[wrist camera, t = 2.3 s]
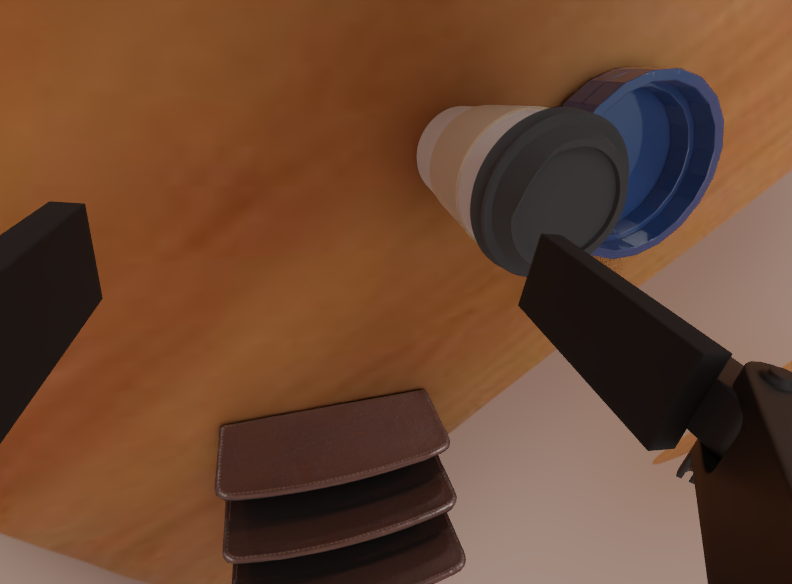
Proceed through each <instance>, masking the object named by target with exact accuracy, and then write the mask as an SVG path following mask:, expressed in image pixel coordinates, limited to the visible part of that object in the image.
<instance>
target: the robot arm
mask: <svg viewBox="0 0 792 584" xmlns="http://www.w3.org/2000/svg"><path fill="white" fill-rule="evenodd" d="M102 299H103V298H102V293H101V287H100V282H99V277H98V271H97V266H96V261H95V255H94V250H93V245H92V239H91V234H90V228H89V223H88V218H87V212H86V207H85V204H80V203H65V202H48V203H47V204H45V205H44V206H42V207H41V208H39V209H38V210H36V211H35V212H33V213H32V214H31V215H29V216H28V217H26V218H25V219H23V220H22V221H20V222H19V223H17V224H16V225H14V226H13V227H11V228H10V229H9V230H7V231H6V232H4V233H3V234H1V235H0V443H1V442H2V441H3V439H4V438H5V436H6V435H7V433H8V432H9V431H10V429H11V428H12V426H13V425H14V423H15V422H16V421H17V419H18V418H19V416H20V415H21V414H22V412H23V411H24V409H25V408H26V406H27V405H28V404H29V402H30V401H31V399H32V398H33V397H34V395H35V394H36V392H37V391H38V389H39V388H40V387H41V385H42V384H43V382H44V381H45V379H46V378H47V377H48V375H49V374H50V372H51V371H52V370H53V368H54V367H55V365H56V364H57V362H58V361H59V360H60V358H61V357H62V355H63V354H64V352H65V351H66V350H67V348H68V347H69V345H70V344H71V343H72V341H73V340H74V338H75V337H76V335H77V334H78V333H79V331H80V330H81V328H82V327H83V325H84V324H85V323H86V321H87V320H88V318H89V317H90V316H91V314H92V313H93V311H94V310H95V308H96V307H97V306H98V304H99V303H100V301H101V300H102ZM518 306H519V307H520V308H521V309H522V310H523V311H524V312H525V313H526V315H527V316H528V317H529V318H530V319H531V320H532V321H533V322H534V324H535V325H536V326H537V327H538V328H539V329H540V330H541V331H542V333H543V334H544V335H545V336H546V337H547V338H548V339H549V340H550V341H551V343H552V344H553V345H554V346H555V347H556V348H557V349H558V350H559V352H560V353H561V354H562V355H563V356H564V357H565V358H566V359H567V361H568V362H569V363H570V364H571V365H572V366H573V367H574V368H575V369H576V371H577V372H578V373H579V374H580V375H581V376H582V377H583V378H584V380H585V381H586V382H587V383H588V384H589V385H590V386H591V387H592V389H593V390H594V391H595V392H596V393H597V394H598V395H599V396H600V398H601V399H602V400H603V401H604V402H605V403H606V404H607V405H608V407H609V408H610V409H611V410H612V411H613V412H614V413H615V414H616V415H617V417H618V418H619V419H620V420H621V421H622V422H623V423H624V424H625V426H626V427H627V428H628V429H629V430H630V431H631V432H632V433H633V434H634V436H635V437H636V438H637V439H638V440H639V441H640V442H641V443H642V445H643V446H644V447H645V448H646V449H647V450H648V451H652V450H664V449H675V447H676V445H677V444H678V442H679V440H680V439H681V437H682V436H683V434H684V432H685V430H686V429H688V430H689V431H690V432H691V433H692V434H693V435H695V436H696V437H697V438H698V439H697V441H696V442H695V444H694V445H693V447H692V449H691V450H690V452H689V453H688V455H687V456H686V458H685V460H684V461H683V463H682V464H681V466H680V467H679V469H678V471H677V475H676V476H677V477H679V478H682V476H683V475H684V474H685V472H687V471H693V476H692V477H691V479H690V480H689V482H691V483H693V484H695V489H696V497H697V504H698V512H699V519H700V527H701V534H702V542H703V549H704V555H705V556H704V557H705V564H706V571H707V579H708V584H792V372H790V371H788V370H786V369H783V368H780V367H776V366H774V365H770V364H767V363H763V362H752V361H751V362H748V363H746V364H745V365H744V366H743V365H742V364H740V363H739V362H737V361H736V360H734V359H733V358H732V357H731V355H732V353H731V352H729V351H727V350H726V349H725V348H723V347H722V346H720V345H719V344H718V343H716V342H715V341H713V340H712V339H710V338H709V337H707V336H706V335H705V334H703V333H702V332H700V331H699V330H697V329H696V328H695V327H693V326H692V325H690V324H689V323H687V322H686V321H685V320H683V319H682V318H680V317H679V316H677V315H676V314H674V313H673V312H672V311H670V310H669V309H667V308H666V307H664V306H663V305H661V304H660V303H659V302H657V301H656V300H654V299H653V298H651V297H650V296H648V295H647V294H646V293H644V292H643V291H641V290H640V289H638V288H637V287H636V286H634V285H633V284H631V283H630V282H628V281H627V280H625V279H624V278H623V277H621V276H620V275H618V274H617V273H615V272H614V271H613V270H611V269H610V268H608V267H607V266H605V265H604V264H602V263H601V262H600V261H598V260H597V259H595V258H594V257H592V256H591V255H589V254H588V253H587V252H585V251H584V250H582V249H581V248H579V247H578V246H577V245H575V244H574V243H572V242H571V241H569V240H568V239H566V238H565V237H564V236H562V235H557V234H541V235H540V238H539V241H538V245H537V248H536V251H535V254H534V257H533V260H532V264H531V267H530V270H529V273H528V276H527V279H526V283H525V286H524V289H523V292H522V295H521V298H520V302H519V305H518Z"/></svg>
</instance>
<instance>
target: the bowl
mask: <svg viewBox="0 0 792 584" xmlns="http://www.w3.org/2000/svg"><path fill="white" fill-rule="evenodd" d="M562 107H575V108H579V109H583V110H585V111H588V112H591V113H595V114H597V115H600V116H602V117H604V118H605V119H607V120H608V121H609V122H611V123H612V124H613V125H614V126H615V127H616V129H617V130H618V131H619V133H620V135H621V136H622V138H623V140H624V143H625V146H626V149H627V153H628V160H629V179H628V192H627V198H626V202H625V205H624V209H623V211H622V214H621V216H620V218H619V220H618V222H617V224H616V226H615V227H614V229H613V230H612V232H611V233H610V235H609V236H608V237H607V238H606V240H605V241H604V242H603V243H602V244H601V245H600V246H599V247H598V248H597V249H596V250H595V251H594V252H592V253H591V254H590V255H593V256H598V257H604V258H609V259H616V258H621V257H627V256H633V255H637V254H639V253H641V252H643V251H645V250H647V249H649V248H651V247H653V246H655V245H657V244H659V243H660V242H661V241H663V240H664V239H665V238H666V237H668V236H669V235H670V234H671V233H673V232H674V231H675V230H676V229H677V228H679V227H680V226H681V225H682V223H683V222H684V221H685V220H686V219H687V217H688V216H689V215H690V214H691V213H692V211H693V210H694V209H695V208H696V207H697V205H698V203H700V201H701V199H702V197H703V195H704V194H705V192H706V190H707V188H708V186H709V184H710V183H711V181H712V179H713V176H714V174H715V170H716V167H717V164H718V161H719V157H720V154H721V151H722V146H723V129H724V119H723V115H722V111H721V108H720V104H719V100H718V96H717V95H716V94H715V93H714V91H713V90H712V89H711V88H710V86H709V85H708V84H707V83H706V81H705V80H704V79H703V78H702V77H701V76H698V75H696V74H694V73H691V72H689V71H686V70H684V69H682V68H667V67H627V68H616V69H613V70H611V71H609V72H606V73H604V74H602V75H600V76H598V77H596V78H593V79H591V80H590V81H588V82H587V83H586V84H585V85H584V86H582V87H581V88H580V89H579V90H578V91H577V92H576V93H574V94H573V95H572V96H571V97H570V98H569V99H568V100H566V101H565V103H564V104H563V105H562Z"/></svg>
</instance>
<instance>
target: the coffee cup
mask: <svg viewBox="0 0 792 584" xmlns="http://www.w3.org/2000/svg"><path fill="white" fill-rule="evenodd" d="M417 167H418V171H419V174H420V176H421V178H422V180H423V182H424V183H425V184H426V185H427V187H428V188H429V189H430V190H431V191H432V192H433V193H434V194H435V196H436V198H437V199H438V201H439V202H440V203H441V205H442V206H443V207H444V208H445V209H446V210H447V211H448V212H449V213H450V214H451V216H452V217H453V218H454V219H455V220H456V221H457V222H458V223H459V224H460V226H461V227H462V228H463V229H464V230H465V231H466V232H467V233H468V234H469V236H470V237H471V238H472V239H473V240H475V241H476V242H477V243H478V245H479V247H480V249H481V250H482V251H483V253H484V254H485V255H486V256H487V257H488V258H489V259H490V260H491V261H492V262H494V263H495V264H497V265H498V266H500V267H502V268H504V269H505V270H507V271H509V272H511V273H513V274H516V275H519V276H524V277H527V276H528V273H529V270H530V267H531V264H532V260H533V257H534V254H535V251H536V248H537V245H538V241H539V238H540V235H541V234H557V235H562V236H564V237H565V238H566V239H568V240H569V241H571V242H572V243H574V244H575V245H577V246H578V247H579V248H581V249H582V250H584V251H585V252H587V253H588V254H589V255H590V254H591V253H592V252H594V251H595V250H596V249H597V248H598V247H599V246H600V245H601V244H602V243H603V242H604V241H605V240H606V238H607V237H608V236H609V235H610V233H611V232H612V230H613V229H614V227H615V226H616V224H617V222H618V220H619V218H620V216H621V214H622V211H623V209H624V205H625V202H626V198H627V192H628V179H629V160H628V153H627V149H626V146H625V143H624V140H623V138H622V136H621V135H620V133H619V131H618V130H617V129H616V127H615V126H614V125H613V124H612V123H611V122H609V121H608V120H607V119H605V118H604V117H602V116H600V115H597V114H595V113H591V112H588V111H585V110H583V109H579V108H575V107H553V108H547V107H541V106H515V105H480V106H456V107H452V108H449V109H446V110H444V111H443V112H441V113H439V114H438V115H437V116H436V117H434V118H433V119H432V120H431V122H430V123H429V124H428V125H427V127H426V128H425V130H424V131H423V133H422V135H421V138H420V140H419V144H418V148H417Z"/></svg>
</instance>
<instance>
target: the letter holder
mask: <svg viewBox="0 0 792 584" xmlns="http://www.w3.org/2000/svg"><path fill="white" fill-rule="evenodd" d="M449 444H450V440H449V437H448V434H447V432H446V430H445V428H444V427H443V425H442V422H441V420H440V419H439V417H438V414H437V412H436V410H435V408H434V406H433V404H432V402H431V399H430V398H429V396H428V394H427V392H426V391H425V389H422V390H418V391H413V392H411V391H410V392H407V393H401V394H395V395H389V396H384V397H378V398H373V399H367V400H362V401H355V402H350V403H345V404H339V405H333V406H328V407H322V408H316V409H311V410H306V411H300V412H295V413H288V414H283V415H278V416H273V417H266V418H261V419H256V420H251V421H245V422H240V423H234V424H229V425H223V426H220V429H219V445H218V455H217V468H216V478H215V493H216V495H217V496H218V497H219V498H221V499H223V500H225V501H226V506H225V522H224V538H223V557H224V559H225V561H226V562H227V563H232V564H233V573H232V584H434V583H437V582H439V581H441V580H443V579H445V578H447V577H449V576H452V575H454V574H455V573H457V572H459V571H461V569H462V568H463V567H464V565H465V561H466V558H465V553H464V551H463V548H462V546H461V544H460V542H459V539H458V537H457V535H456V533H455V530H454V528H453V526H452V523H451V521H450V519H449V517H448V514H447V512H448V511H450V510H451V509H452V508H453V506H454V505H455V502H456V498H457V497H456V493H455V491H454V488H453V487H452V484H451V482H450V480H449V478H448V475H447V474H446V472H445V469H444V468H443V465H442V463H441V461H440V458H439V456H438V454H441V453H442V452H444V451H445V450H446V449H448V448H449Z"/></svg>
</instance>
